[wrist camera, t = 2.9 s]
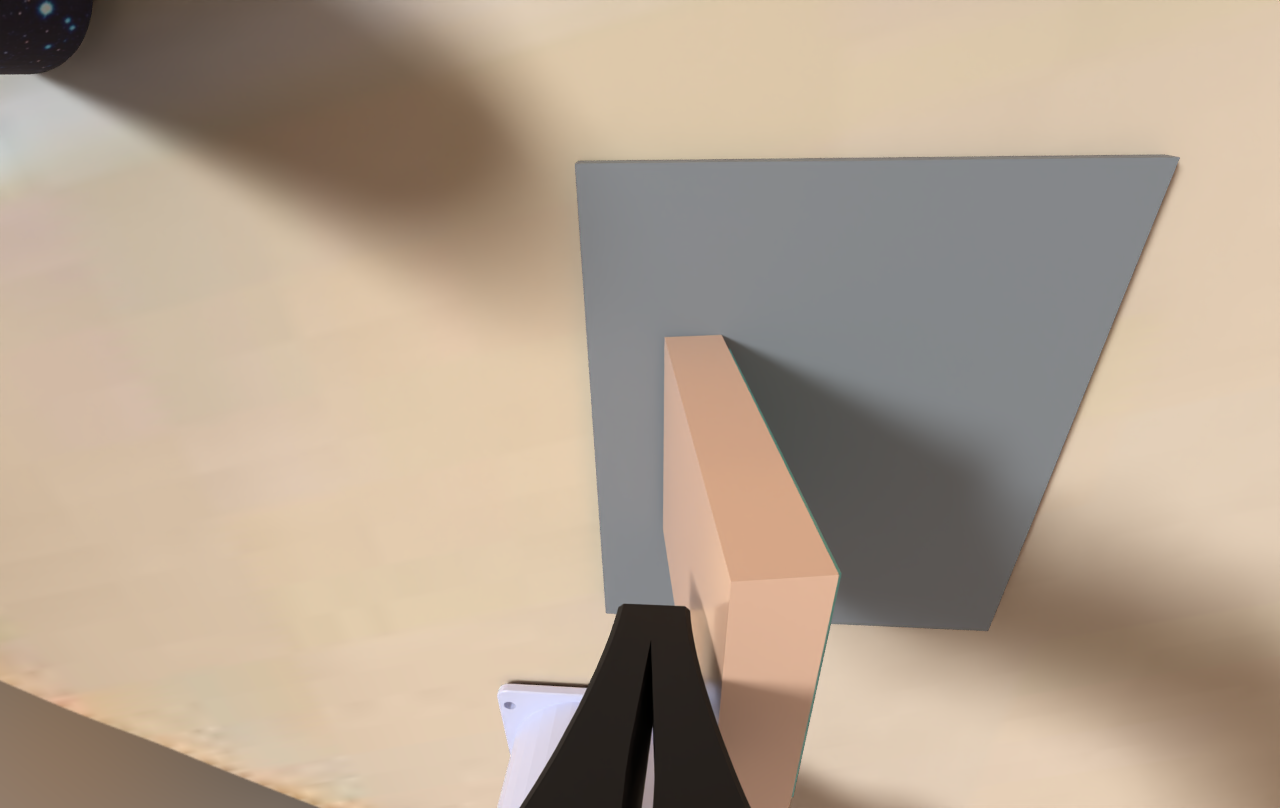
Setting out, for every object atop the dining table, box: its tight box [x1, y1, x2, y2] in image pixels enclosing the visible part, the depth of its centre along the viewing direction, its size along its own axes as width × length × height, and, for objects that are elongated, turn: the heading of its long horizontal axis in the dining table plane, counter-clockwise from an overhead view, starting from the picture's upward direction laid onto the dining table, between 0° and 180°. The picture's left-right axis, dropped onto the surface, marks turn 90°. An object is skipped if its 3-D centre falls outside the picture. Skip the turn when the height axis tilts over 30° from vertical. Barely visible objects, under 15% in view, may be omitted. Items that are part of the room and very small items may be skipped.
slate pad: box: [575, 155, 1180, 631], centre depth 18 cm, size 16×14×1 cm
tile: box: [663, 335, 842, 808], centre depth 14 cm, size 7×2×9 cm, turn 1°
